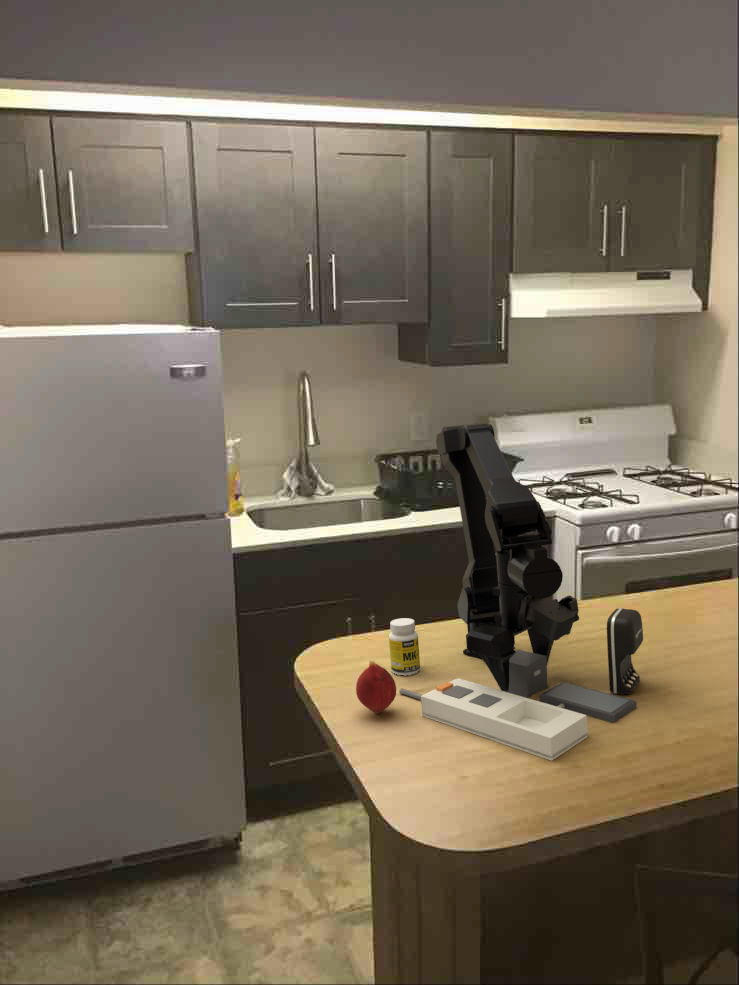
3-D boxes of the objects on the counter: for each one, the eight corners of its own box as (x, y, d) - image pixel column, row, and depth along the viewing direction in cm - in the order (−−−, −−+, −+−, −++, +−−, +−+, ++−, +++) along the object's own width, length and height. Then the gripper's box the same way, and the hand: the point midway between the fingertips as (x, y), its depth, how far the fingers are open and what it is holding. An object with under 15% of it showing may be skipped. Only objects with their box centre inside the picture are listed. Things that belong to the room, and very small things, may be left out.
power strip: (381, 701, 126) (379, 680, 125) (418, 684, 131) (416, 663, 131) (551, 760, 104) (550, 734, 103) (587, 736, 109) (586, 712, 108)
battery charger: (635, 698, 119) (632, 621, 117) (608, 694, 121) (605, 618, 119) (646, 679, 125) (643, 606, 123) (620, 676, 127) (617, 604, 125)
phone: (512, 716, 117) (511, 709, 117) (563, 687, 125) (562, 680, 125) (587, 740, 108) (587, 732, 108) (636, 707, 116) (636, 700, 116)
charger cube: (500, 691, 126) (498, 659, 125) (520, 680, 129) (518, 649, 129) (528, 699, 122) (526, 666, 122) (548, 687, 126) (546, 656, 125)
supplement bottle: (405, 678, 134) (401, 628, 133) (385, 672, 138) (381, 623, 136) (426, 669, 137) (422, 620, 136) (406, 663, 141) (402, 615, 139)
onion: (403, 705, 124) (398, 654, 123) (391, 722, 118) (386, 668, 117) (366, 703, 126) (361, 652, 124) (352, 720, 120) (347, 667, 119)
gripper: (523, 605, 111) (530, 716, 114) (600, 572, 124) (605, 672, 126) (460, 593, 119) (467, 697, 122) (537, 563, 132) (543, 657, 134)
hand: (523, 680), depth 126 cm, fingers open, 9 cm apart
